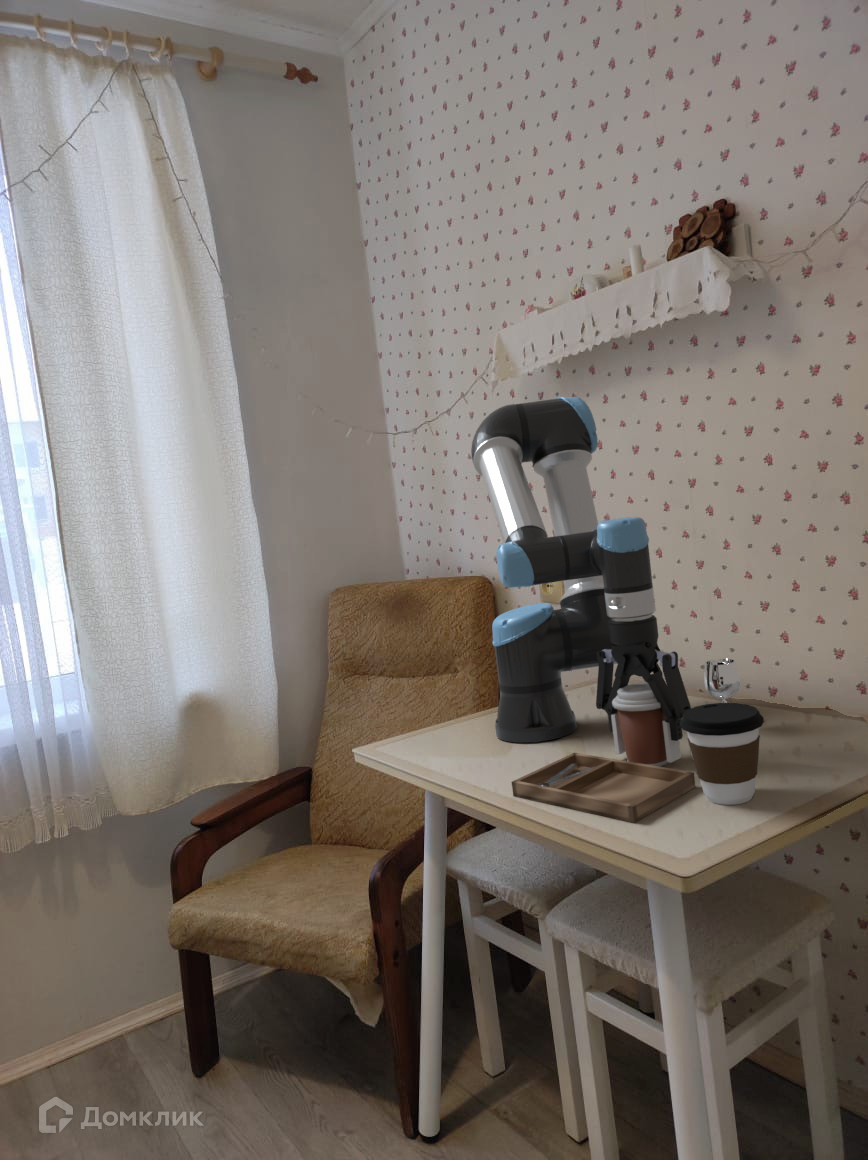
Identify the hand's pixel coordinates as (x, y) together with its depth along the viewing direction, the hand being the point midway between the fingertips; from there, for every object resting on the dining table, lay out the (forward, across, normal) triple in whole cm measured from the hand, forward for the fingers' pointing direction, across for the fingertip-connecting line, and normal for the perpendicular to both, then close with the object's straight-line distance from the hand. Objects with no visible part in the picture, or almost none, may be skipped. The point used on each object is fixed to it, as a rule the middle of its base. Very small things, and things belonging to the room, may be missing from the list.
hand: (647, 755), depth 142 cm
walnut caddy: (+1, +2, -14) cm, 14 cm away
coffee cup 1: (+1, 0, 0) cm, 1 cm away
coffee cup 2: (+1, +18, -8) cm, 20 cm away
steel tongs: (0, -5, -14) cm, 15 cm away
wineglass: (+1, +3, +19) cm, 19 cm away
